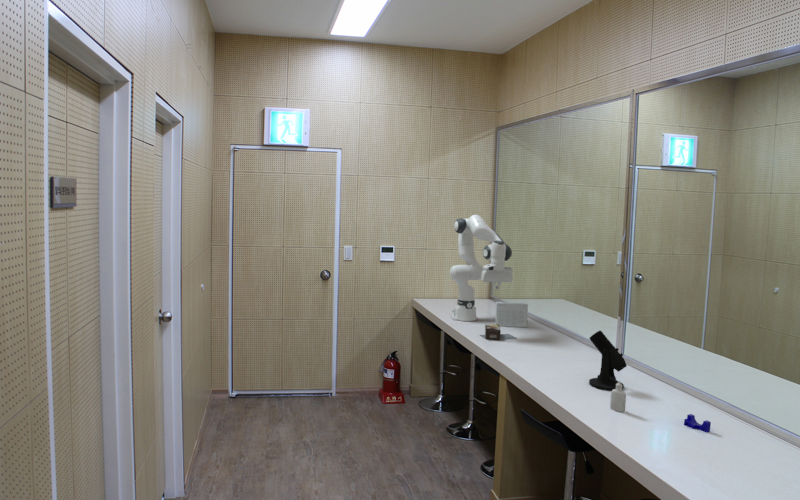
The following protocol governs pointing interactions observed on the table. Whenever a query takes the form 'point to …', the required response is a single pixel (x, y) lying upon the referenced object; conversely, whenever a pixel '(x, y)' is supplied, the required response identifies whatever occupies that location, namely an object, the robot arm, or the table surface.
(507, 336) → the mat
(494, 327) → the coffee box
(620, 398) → the eye dropper bottle
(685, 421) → the cable holder
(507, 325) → the skincare box
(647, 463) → the table surface
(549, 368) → the table surface
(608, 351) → the microphone
